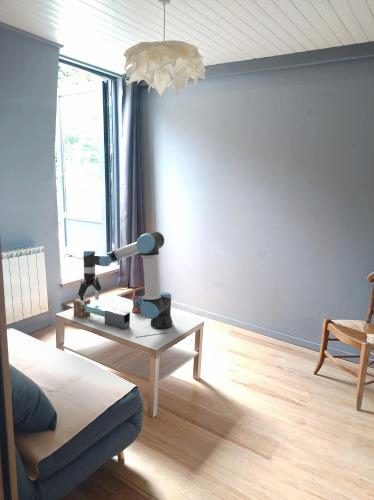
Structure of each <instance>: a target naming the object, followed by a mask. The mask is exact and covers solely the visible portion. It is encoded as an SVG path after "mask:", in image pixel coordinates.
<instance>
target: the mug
mask: <svg viewBox="0 0 374 500" xmlns="http://www.w3.org/2000/svg"><path fill="white" fill-rule="evenodd" d="M131 300H132V304H133V305H132V308H131V311H132V313H137V314H139V313H141V309H140V308H141V305H142V304H143V296H142V295H135V296H132V297H131Z"/></svg>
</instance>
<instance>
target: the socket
mask: <svg viewBox="0 0 374 500" xmlns="http://www.w3.org/2000/svg"><path fill="white" fill-rule="evenodd" d="M88 302H90V303H91V299H89V298H87V297H85V303H88ZM73 316H75V317H76V318H81V319H84V318H86V317H89V316H91V313H89V312H83V305H81V300H80V297H79V298H76V299H73ZM83 317H84V318H83Z"/></svg>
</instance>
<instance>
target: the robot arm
mask: <svg viewBox="0 0 374 500" xmlns="http://www.w3.org/2000/svg"><path fill="white" fill-rule="evenodd" d="M164 244H165V237H164V235H163V234H162V233H161V232H159V231H152V232H147V233H143V234H142V235H140V236H139V237H137V240H136V242H133V243H130V244H127V245H125V246H122V247H119V248H117V249H114V250H111V251H109V252H105V253H101V254H100V253H96V251H95V250H94V249H85V250H83V257H82V258H83V259H82V260H83V278H84V280H81V281H80V286H79V290H78V293H77V296H80V297H79V298H80V300H81V305H85V298H86V297H85V294H86V291H87V290H88V288H89V287H91V286H92V287H93V288H94V289H95V290H94V300H97V301H99V296H100V292H101V290H102V286H101V284H100V281H99V277H96V266H100V267H109V266H111V263H115V262H118V261H120V260H123V259H126V258H128V257H132V256H134V255H137V254H139V253H140V254H139V255H140V256H141V257H142V261H143V262H142V264H143V265H142V266H143V281H144V295H143V296H142V297H143V304H142V305H141V308H140V309H141V312H140V313H141V315H142V316H144V318H146V319H148V320H149V319H150V327H151V328H154V329H158V330H166V329H167V330H168V329H170V328H172V327H173V325H174V324H173V320H172V316H171V315H172V314H171V310H172V309H171V307H172V294H171V293H170V292H169V291H168V292H167V291H159V277H158V275H159V274H158V258H157V257H158V256H159V254H160V249H162V247H163V246H164Z"/></svg>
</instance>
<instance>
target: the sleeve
mask: <svg viewBox="0 0 374 500" xmlns="http://www.w3.org/2000/svg"><path fill="white" fill-rule="evenodd" d="M130 324H131V312H130V311H126V310H123V309H119V308H115V307H112V306H111V307H108V308H107V309H106V310H105V317H104V325H105V326H108V327H111V328H115V329H118V330H120V331H125V330H127V329H129V328H130Z"/></svg>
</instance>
